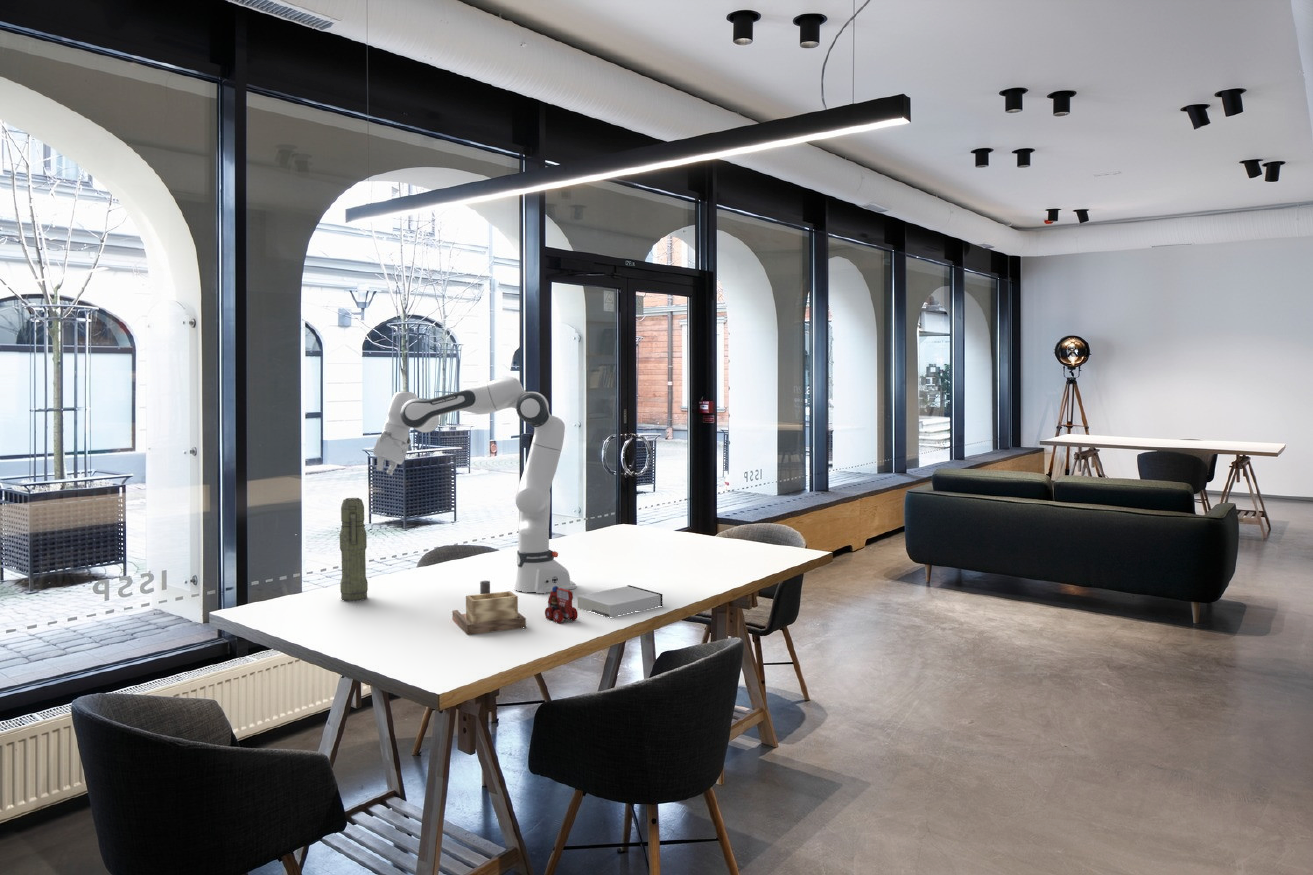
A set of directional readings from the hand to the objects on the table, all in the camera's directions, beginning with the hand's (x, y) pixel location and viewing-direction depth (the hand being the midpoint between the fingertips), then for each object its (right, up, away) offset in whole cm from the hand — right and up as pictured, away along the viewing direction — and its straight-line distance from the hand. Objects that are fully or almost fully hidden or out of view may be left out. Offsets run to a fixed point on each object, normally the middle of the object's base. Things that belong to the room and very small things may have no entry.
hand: (384, 472), depth 320 cm
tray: (+45, -46, -40) cm, 75 cm away
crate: (+45, -44, -42) cm, 76 cm away
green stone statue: (-8, -44, -7) cm, 45 cm away
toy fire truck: (+67, -46, -35) cm, 88 cm away
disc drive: (+85, -45, -20) cm, 98 cm away
